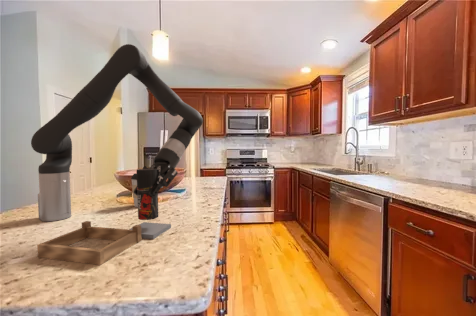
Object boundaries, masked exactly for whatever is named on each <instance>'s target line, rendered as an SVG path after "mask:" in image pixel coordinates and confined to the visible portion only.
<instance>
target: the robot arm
mask: <svg viewBox="0 0 476 316" xmlns="http://www.w3.org/2000/svg"><path fill="white" fill-rule="evenodd" d="M128 75H131V76H132V77H134V78H135V79H136V80H138V82H140V83H141V84H143V85H144V86H145V87H146V89H148V91H149V92H150V93H151V95H153V97H154V98H155V99H156V100H157V102H158V103H159V104H160V105H161V107H163V108H164V109H165V111H166V112H168V114H169V115H170V116H172V117H177V116H180V117H181V118H182V120H181V121H180V122H179V125H178V126H177V127H176V129H175V130H174V131H173V132H172V134H171V135H170V136H169V138H168V139H167V140H166V141H165V143H164V144H163V145H162V146H161V148H160V149H159V151H158V152H157V153H156V155H155V156H154V158H153V164H152V165H150V167H149V168H156V169H157V179H156V184H154V185H153V187H152V188H151V190H150V191H149V193H148V195H149V196H150V197H152V198H154V197H155V196H156V195H157V193H159V191H160V190H161V189H162V188H164V187H165V188H167V187H169V186H170V184H171V183H172V182H173V181H174V179H175V177H176V176H177V175H178V171H177V170H176V167H177V165H178V164H179V162H180V161H181V159H182V157H183V156H184V154H185V152H186V150H187V149H188V147H189V145H190V143H191V141H192V139H193V137H194V135H195V134H196V133H197V132H198V131H199V129H200V128H202V125H203V123H204V119H203V117H202V114H201V113H200V112H199V111H198V110H197V109H195V108H194V107H192V106H191V105H189V104H188V103H186V102H184V100H182V98H181V97H180V96H179V95H178V94H177V93H176V92H175V91H174V90H173V89H172V88H171V87H170V86H169V85H167V83H166V82H164V81H163V80H162V79H161V78H160V77H159V76H158V74H157V73H156V72H155V71H154V70H153V68H152V66H151V64H150V63H149V62H148V60H147V58H146V57H145V55H144V54H143V52H141V50H140V49H139V48H138V47H137V46H135V45H133V44H130V43H128V44H124V45H121V46H120V47H118V48H117V50H115V52H113V54H112V56H111V57H110V58H109V60H108V61H107V62H106V63H105V64H104V65H103V67H102V68H101V70H99V71H98V73H96V74H95V76H93V77H92V79H91V80H90V81H89V82H87V84H86V85H85V86H83V87H82V88H81V89H80V91H78V92H77V93H76V94H75V95H74V97H72V99H71V100H70V101H69V102H68V103H66V105H65V106H63V108H62V109H61V110H60V111H59V112H58V113H57V114H56V115H54V117H53V118H51V119H50V120H49V121H47V122H46V123H45V124H44V125H43V126H41V127H40V128H39V129H38V130H37V131H36V132H34V134H33V135H32V137H31V140H30V143H31V144H30V145H31V148H32V149H33V150H34V152H36V153H38V154H41V155H46V156H45V161H43V162H42V163H41V164H39V165H38V169H37V170H38V171H37V172H38V188H39V189H38V190H39V193H38V194H37V207H38V209H37V211H38V220H40V221H41V222H55V221H60V220H65V219H68V218H71V217H72V199H71V198H72V197H71V196H72V195H71V194H72V193H71V177H70V176H71V175H70V172H71V171H70V170H71V165H72V163H73V162H72V161H73V143H72V138H71V136H70V133H71V132H73V130H75V129H76V128H77V127H79V126H82V125H83V124H85V123H87V122H90V121H91V120H92V119H93V118H95V117H97V116H98V115H99V114H100V113H101V112H103V110H104V109H105V108H106V107H107V106H108V105H109V104H110V102H111V100H112V98H113V96H114V93H115V91H116V89H117V87H118V85H119V84H120V83H121V81H123V79H125V77H126V76H128ZM146 168H148V167H147V166H143V167H142V169H146ZM136 180H137V179H136ZM134 194H135V195H137V187H136V188H135V189H134Z"/></svg>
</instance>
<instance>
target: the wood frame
mask: <svg viewBox="0 0 476 316" xmlns="http://www.w3.org/2000/svg"><path fill="white" fill-rule="evenodd" d="M84 239H97V240H99V239H100V240H108V241H113V242H111V243H110V244H108V245H106V246H104V247H102V248H99V249H98V248H89V247H80V246H71V245H72V244H76V243H78V242H80V241H82V240H84ZM142 241H143V240H142V238H141V225H139V224H135V225H133V226H132V230H129V228H128V229H125V228H114V227H113V228H112V227H102V226H100V227H99V226H92V223H91V221H89V220H87V221H83V222H81V227H80V228H78V229H76V230H72V231H71V232H67V233H64V234H63V235H59V236H57V237H54V238H52V239H48V240H47V241H46V240H45V241H43V242H40V243H39V244H36V245H37V258H42V259H51V260H58V261H66V262H67V261H68V262H75V263H82V264H90V265H99V266H101V265H103V264H105V263H106V262H109V261H110V260H112V259H113V258H114V257H116V256H118V255H120V254H121V253H123V252H124V251H126V250H127V249H129V248H130V247H133V246H134V245H135V244H138V243H140V242H142Z"/></svg>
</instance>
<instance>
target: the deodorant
mask: <svg viewBox="0 0 476 316" xmlns="http://www.w3.org/2000/svg"><path fill="white" fill-rule="evenodd" d="M136 173H137V197H138V207H137V219H138V220H140V221H150V220H154V219H157V218H159V194H158V193H159V192H158V193H157V195H156V196H155V197H154V198H152V197H150V196H149V195H148V193H149V191H150V190H151V188H152V187H153V185H154V184H156V179H157V169H156V168H150V167H147V168H146V169H143V168H137V169H136Z"/></svg>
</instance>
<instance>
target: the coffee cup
mask: <svg viewBox="0 0 476 316" xmlns="http://www.w3.org/2000/svg"><path fill="white" fill-rule="evenodd" d="M136 179H137V172H136V173H133V175H132V176H131V177H130V180H131V189H132V191H131V192H132V198H133V204H134V207H135V208H138V197H137V195H135V194H134V189H135V188H136V187H137V180H136Z"/></svg>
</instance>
